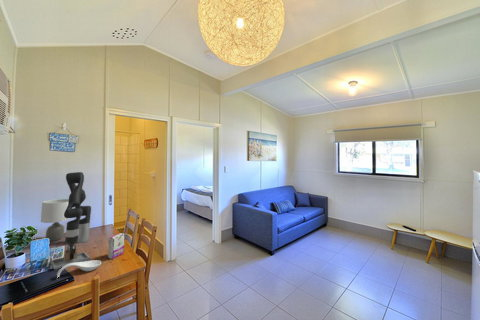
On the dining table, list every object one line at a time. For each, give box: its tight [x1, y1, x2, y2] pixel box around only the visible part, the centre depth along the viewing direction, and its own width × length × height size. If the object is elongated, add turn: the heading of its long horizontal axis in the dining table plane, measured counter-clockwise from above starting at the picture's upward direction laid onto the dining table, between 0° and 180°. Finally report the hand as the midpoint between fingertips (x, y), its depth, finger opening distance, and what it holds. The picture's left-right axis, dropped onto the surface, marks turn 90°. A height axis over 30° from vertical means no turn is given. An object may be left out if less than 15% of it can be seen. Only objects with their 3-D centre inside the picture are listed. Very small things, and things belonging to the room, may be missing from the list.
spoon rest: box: [56, 259, 102, 278], centre depth 132 cm, size 24×12×7 cm, turn 136°
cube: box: [64, 249, 78, 261], centre depth 144 cm, size 6×6×6 cm
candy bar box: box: [107, 232, 126, 260], centre depth 157 cm, size 11×5×16 cm, turn 168°
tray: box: [50, 251, 91, 270], centre depth 144 cm, size 14×20×2 cm
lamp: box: [40, 198, 71, 242], centre depth 184 cm, size 21×21×37 cm
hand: (70, 257), depth 144 cm, fingers closed on cube, 6 cm apart
